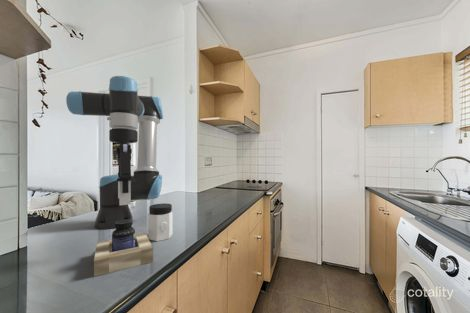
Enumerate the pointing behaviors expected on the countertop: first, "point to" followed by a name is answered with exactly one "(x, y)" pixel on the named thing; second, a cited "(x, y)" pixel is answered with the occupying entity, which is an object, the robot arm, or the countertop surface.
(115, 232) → the pill bottle
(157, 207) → the jar
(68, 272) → the countertop surface
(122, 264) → the jig
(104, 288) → the countertop surface
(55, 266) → the countertop surface
